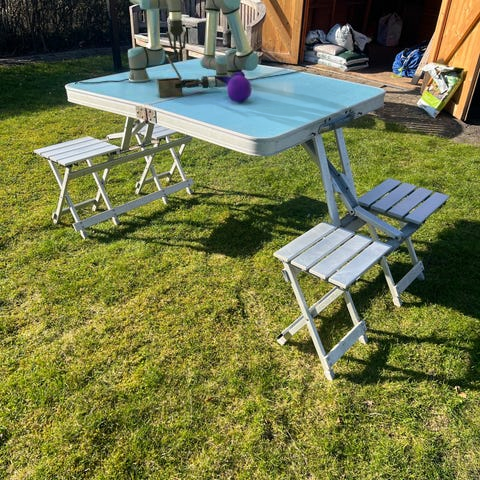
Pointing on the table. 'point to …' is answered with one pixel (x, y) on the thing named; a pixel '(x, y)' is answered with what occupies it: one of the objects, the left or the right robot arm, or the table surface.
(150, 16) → the left robot arm
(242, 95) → the toy
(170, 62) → the lid
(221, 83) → the right robot arm
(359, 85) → the table surface
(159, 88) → the chest
